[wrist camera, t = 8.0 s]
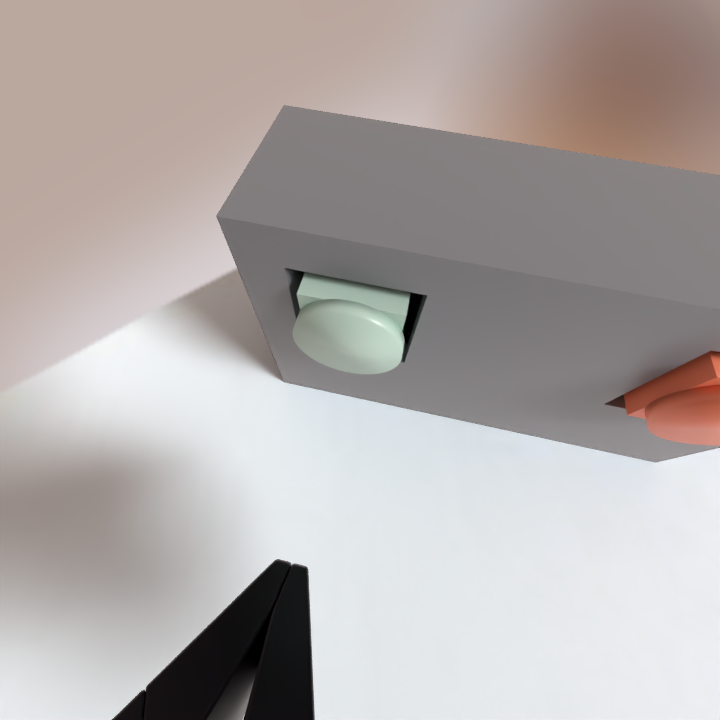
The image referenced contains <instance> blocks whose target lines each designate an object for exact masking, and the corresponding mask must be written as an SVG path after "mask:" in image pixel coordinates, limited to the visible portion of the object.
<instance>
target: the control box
mask: <svg viewBox="0 0 720 720" xmlns="http://www.w3.org/2000/svg"><path fill="white" fill-rule="evenodd" d="M217 219H218V221H219V223H220V226H221V229H222V231H223V234H224V236H225V238H226V241H227V243H228V246H229V248H230V251H231V253H232V256H233V258H234V261H235V263H236V266H237V268H238V270H239V273H240V275H241V278H242V280H243V283H244V285H245V288H246V290H247V293H248V295H249V297H250V300H251V302H252V305H253V307H254V310H255V312H256V315H257V317H258V320H259V322H260V324H261V327H262V329H263V332H264V334H265V337H266V339H267V342H268V344H269V347H270V349H271V351H272V354H273V356H274V359H275V361H276V364H277V366H278V369H279V371H280V374H281V376H282V378H283V381H284V382H287V383H291V384H296V385H300V386H305V387H310V388H314V389H319V390H324V391H328V392H333V393H337V394H342V395H347V396H351V397H356V398H361V399H365V400H370V401H374V402H379V403H384V404H388V405H393V406H398V407H402V408H407V409H411V410H416V411H421V412H425V413H430V414H434V415H439V416H444V417H448V418H453V419H458V420H462V421H467V422H471V423H476V424H481V425H485V426H490V427H495V428H499V429H504V430H508V431H513V432H518V433H522V434H527V435H532V436H536V437H541V438H545V439H550V440H555V441H559V442H564V443H569V444H573V445H578V446H582V447H587V448H592V449H596V450H601V451H606V452H610V453H615V454H619V455H624V456H629V457H633V458H638V459H643V460H647V461H652V462H660V461H664V460H668V459H673V458H677V457H681V456H686V455H690V454H694V453H699V452H703V451H707V450H712V449H716V448H720V446H711V445H696V444H687V443H680V442H675V441H670V440H666V439H663V438H660V437H658V436H655V435H654V434H652V433H651V432H649V430H648V428H647V423H646V419H643V418H638V417H634V416H629V415H627V412H626V406H625V400H624V394H625V393H627V392H629V391H631V390H633V389H635V388H637V387H639V386H641V385H643V384H645V383H647V382H649V381H651V380H653V379H655V378H657V377H659V376H661V375H663V374H665V373H667V372H669V371H671V370H673V369H675V368H677V367H679V366H681V365H683V364H685V363H687V362H689V361H691V360H693V359H695V358H697V357H699V356H701V355H703V354H705V353H707V352H709V351H711V350H712V351H717V352H720V175H714V174H708V173H702V172H696V171H690V170H683V169H677V168H671V167H665V166H659V165H652V164H646V163H640V162H634V161H628V160H621V159H615V158H609V157H602V156H596V155H590V154H584V153H577V152H572V151H565V150H559V149H553V148H547V147H540V146H534V145H528V144H522V143H516V142H509V141H503V140H497V139H491V138H485V137H478V136H472V135H466V134H459V133H453V132H447V131H441V130H435V129H429V128H421V127H416V126H410V125H403V124H398V123H391V122H385V121H379V120H372V119H366V118H360V117H354V116H348V115H342V114H334V113H329V112H323V111H317V110H310V109H304V108H298V107H292V106H286V105H284V106H283V108H282V110H281V111H280V113H279V114H278V116H277V117H276V119H275V121H274V122H273V124H272V126H271V128H270V129H269V131H268V132H267V134H266V136H265V137H264V139H263V141H262V142H261V144H260V145H259V147H258V149H257V150H256V152H255V154H254V155H253V157H252V158H251V160H250V162H249V164H248V165H247V167H246V169H245V170H244V172H243V174H242V175H241V176H240V178H239V180H238V181H237V183H236V185H235V186H234V188H233V190H232V191H231V193H230V195H229V196H228V198H227V200H226V201H225V203H224V204H223V206H222V208H221V209H220V211H219V213H218V214H217ZM305 272H309V273H314V274H319V275H324V276H329V277H334V278H340V279H345V280H350V281H355V282H360V283H365V284H371V285H376V286H381V287H386V288H391V289H396V290H402V291H407V292H411V294H410V299H409V305H408V310H407V316H406V319H405V323H404V326H403V330H402V332H403V333H408V334H411V335H410V338H409V341H408V343H404V348H403V354H402V359H401V362H400V363H399V365H398V366H397V367H395V368H394V369H392V370H390V371H387V372H384V373H379V374H355V373H349V372H344V371H340V370H337V369H333V368H331V367H328V366H326V365H323V364H321V363H319V362H317V361H315V360H314V359H312V358H310V357H309V356H308V355H306V354H305V353H304V352H303V351H302V350H301V349H300V348H299V347H298V346H297V345H296V343H295V341H294V339H293V335H292V332H293V328H294V325H295V322H296V319H297V317H298V314H299V312H300V308H299V303H298V298H297V292H298V289H299V286H300V284H301V281H302V279H303V276H304V273H305Z"/></svg>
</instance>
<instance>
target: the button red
mask: <svg viewBox="0 0 720 720" xmlns="http://www.w3.org/2000/svg"><path fill="white" fill-rule="evenodd" d="M624 400H625V406H626V412H627V415H629V416H634V417H638V418H643V419H646V423H647V428H648V430H649V432H651V433H652V434H654V435H655V436H658V437H660V438H663V439H666V440H670V441H675V442H680V443H687V444H696V445H711V446H720V352H717V351H712V350H711V351H709V352H707V353H705V354H703V355H701V356H699V357H697V358H695V359H693V360H691V361H689V362H687V363H685V364H683V365H681V366H679V367H677V368H675V369H673V370H671V371H669V372H667V373H665V374H663V375H661V376H659V377H657V378H655V379H653V380H651V381H649V382H647V383H645V384H643V385H641V386H639V387H637V388H635V389H633V390H631V391H629V392H627V393H625V394H624Z"/></svg>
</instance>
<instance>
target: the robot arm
mask: <svg viewBox="0 0 720 720" xmlns="http://www.w3.org/2000/svg"><path fill="white" fill-rule="evenodd" d="M245 712H246V713H245ZM244 714H245V716H244ZM243 717H244V720H315V716H314V693H313V669H312V646H311V623H310V599H309V576H308V568H307V567H306V566H303V565H299V564H293V565H291V563H290V562H288V561H284V560H280V559H277V560H275V561H274V562H273V563H272V564H271V565H269V566H268V567H267V568H266V569H265V570H264V571H263V572H262V573H261V574H260V575H259V576H258V577H257V578H256V579H255V580H254V581H253V582H252V583H251V584H250V585H249V586H248V587H247V588H246V589H245V590H244V591H243V592H242V593H241V594H240V595H239V596H238V597H237V598H236V599H235V600H234V601H233V602H232V603H231V604H230V605H229V606H228V607H227V608H226V609H225V610H224V611H223V612H222V613H221V614H220V615H219V616H218V617H217V618H216V619H215V620H213V621H212V622H211V623H210V624H209V625H208V626H207V627H206V628H205V629H204V630H203V631H202V632H201V633H200V634H199V635H198V636H197V637H196V638H195V639H194V640H193V641H192V642H191V643H190V644H189V645H188V646H187V647H186V648H185V649H184V650H183V651H182V652H181V653H180V654H179V655H178V656H177V657H176V658H175V659H174V660H173V661H172V662H171V663H170V664H169V665H168V666H167V667H166V668H165V669H164V670H163V671H162V672H161V673H160V674H159V675H157V676H156V677H155V678H154V679H153V680H152V681H151V682H150V683H149V684H148V685H147V687H146V692H145V690H142V691H141V692H140V693H139V694H138V695H137V696H136V697H135V698H134V699H133V700H132V701H131V702H130V703H129V704H128V705H127V706H126V707H125V708H124V709H123V710H122V711H121V712H120V713H118V714H117V715H116V716H115V717H114V718H113V719H112V720H242V719H243Z"/></svg>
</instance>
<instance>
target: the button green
mask: <svg viewBox="0 0 720 720" xmlns="http://www.w3.org/2000/svg"><path fill="white" fill-rule="evenodd" d="M410 294H411V292H407V291H402V290H396V289H391V288H386V287H381V286H376V285H371V284H365V283H360V282H355V281H350V280H345V279H340V278H334V277H329V276H324V275H319V274H314V273H309V272H305V273H304V276H303V279H302V281H301V284H300V286H299V289H298V292H297V298H298V303H299V308H300V312H299V314H298V317H297V319H296V322H295V325H294V328H293V332H292V335H293V339H294V341H295V343H296V345H297V346H298V347H299V348H300V349H301V350H302V351H303V352H304V353H305V354H306V355H308V356H309V357H310V358H312V359H314V360H315V361H317V362H319V363H321V364H323V365H326V366H328V367H331V368H333V369H337V370H340V371H344V372H349V373H355V374H379V373H384V372H387V371H390V370H392V369H394V368H395V367H397V366H398V365H399V363H400V362H401V359H402V354H403V348H404V342H405V340H404V335H403V332H402V330H403V326H404V323H405V319H406V316H407V310H408V305H409V299H410Z"/></svg>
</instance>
